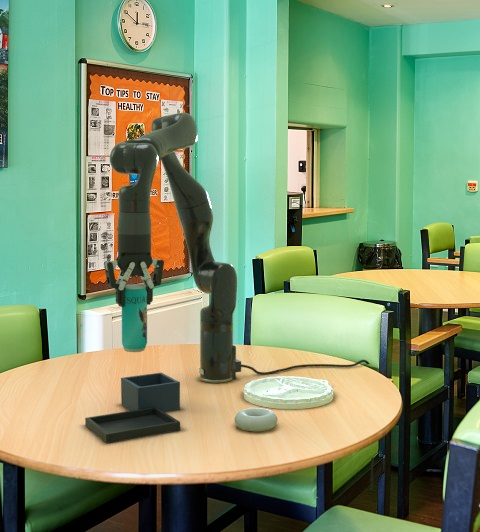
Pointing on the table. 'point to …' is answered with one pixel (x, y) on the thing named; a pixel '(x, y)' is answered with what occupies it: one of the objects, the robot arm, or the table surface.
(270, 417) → the donut
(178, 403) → the caddy
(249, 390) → the medallion
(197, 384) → the table surface
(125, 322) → the beverage can
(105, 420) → the tray
